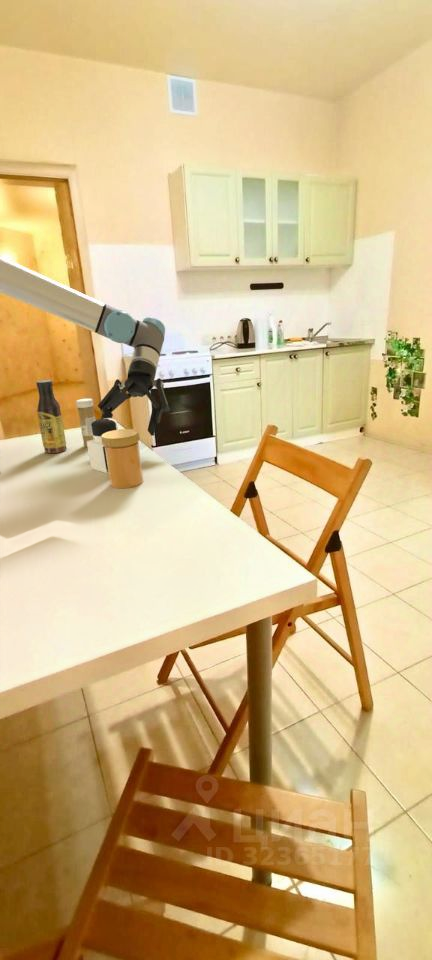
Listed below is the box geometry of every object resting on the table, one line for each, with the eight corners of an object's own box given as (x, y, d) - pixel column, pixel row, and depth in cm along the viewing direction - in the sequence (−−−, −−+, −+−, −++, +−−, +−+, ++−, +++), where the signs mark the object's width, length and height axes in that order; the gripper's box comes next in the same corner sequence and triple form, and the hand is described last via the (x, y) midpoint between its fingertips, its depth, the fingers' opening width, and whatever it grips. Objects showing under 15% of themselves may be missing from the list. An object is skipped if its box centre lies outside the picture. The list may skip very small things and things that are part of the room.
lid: (146, 438, 98) (145, 430, 97) (122, 448, 91) (121, 439, 91) (119, 435, 102) (118, 427, 101) (94, 445, 95) (93, 436, 95)
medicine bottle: (107, 474, 106) (99, 424, 102) (90, 468, 111) (82, 421, 106) (131, 465, 111) (124, 418, 107) (114, 461, 115) (107, 415, 111)
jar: (103, 486, 99) (96, 440, 95) (125, 475, 104) (118, 431, 101) (129, 490, 95) (122, 442, 91) (149, 478, 101) (144, 433, 97)
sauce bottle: (40, 452, 127) (25, 382, 120) (58, 446, 132) (45, 378, 125) (54, 455, 124) (39, 383, 117) (72, 449, 129) (59, 379, 122)
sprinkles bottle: (81, 445, 132) (73, 399, 127) (96, 442, 134) (89, 397, 130) (86, 448, 129) (78, 401, 124) (101, 445, 131) (94, 399, 126)
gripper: (188, 374, 126) (175, 440, 118) (109, 376, 133) (91, 439, 125) (180, 356, 120) (166, 425, 111) (97, 360, 126) (78, 425, 118)
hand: (126, 433), depth 118 cm, fingers open, 13 cm apart
